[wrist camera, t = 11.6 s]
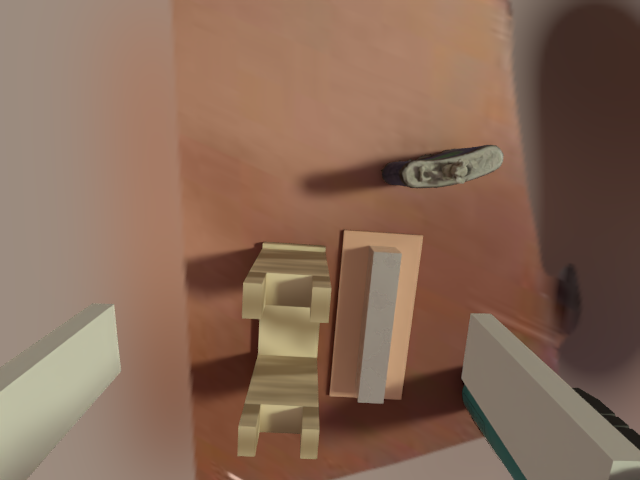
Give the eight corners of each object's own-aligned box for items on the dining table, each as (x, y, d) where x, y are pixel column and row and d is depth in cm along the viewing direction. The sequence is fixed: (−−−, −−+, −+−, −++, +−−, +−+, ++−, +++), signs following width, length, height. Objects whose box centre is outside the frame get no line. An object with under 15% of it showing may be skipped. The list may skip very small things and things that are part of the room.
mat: (344, 229, 41) (344, 230, 41) (422, 235, 42) (423, 235, 41) (329, 394, 46) (329, 396, 45) (400, 397, 46) (401, 399, 46)
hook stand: (263, 241, 41) (243, 276, 29) (325, 245, 42) (331, 282, 29) (258, 376, 45) (237, 460, 32) (314, 379, 45) (316, 463, 32)
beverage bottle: (449, 403, 46) (551, 578, 27) (462, 356, 45) (580, 504, 25) (498, 410, 47) (634, 588, 27) (512, 364, 45) (666, 515, 26)
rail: (369, 245, 41) (373, 251, 38) (395, 247, 41) (401, 253, 39) (354, 386, 45) (357, 402, 42) (378, 388, 45) (383, 403, 42)
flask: (461, 146, 40) (515, 140, 29) (464, 172, 40) (518, 176, 30) (378, 163, 40) (402, 164, 29) (383, 190, 41) (408, 200, 30)
